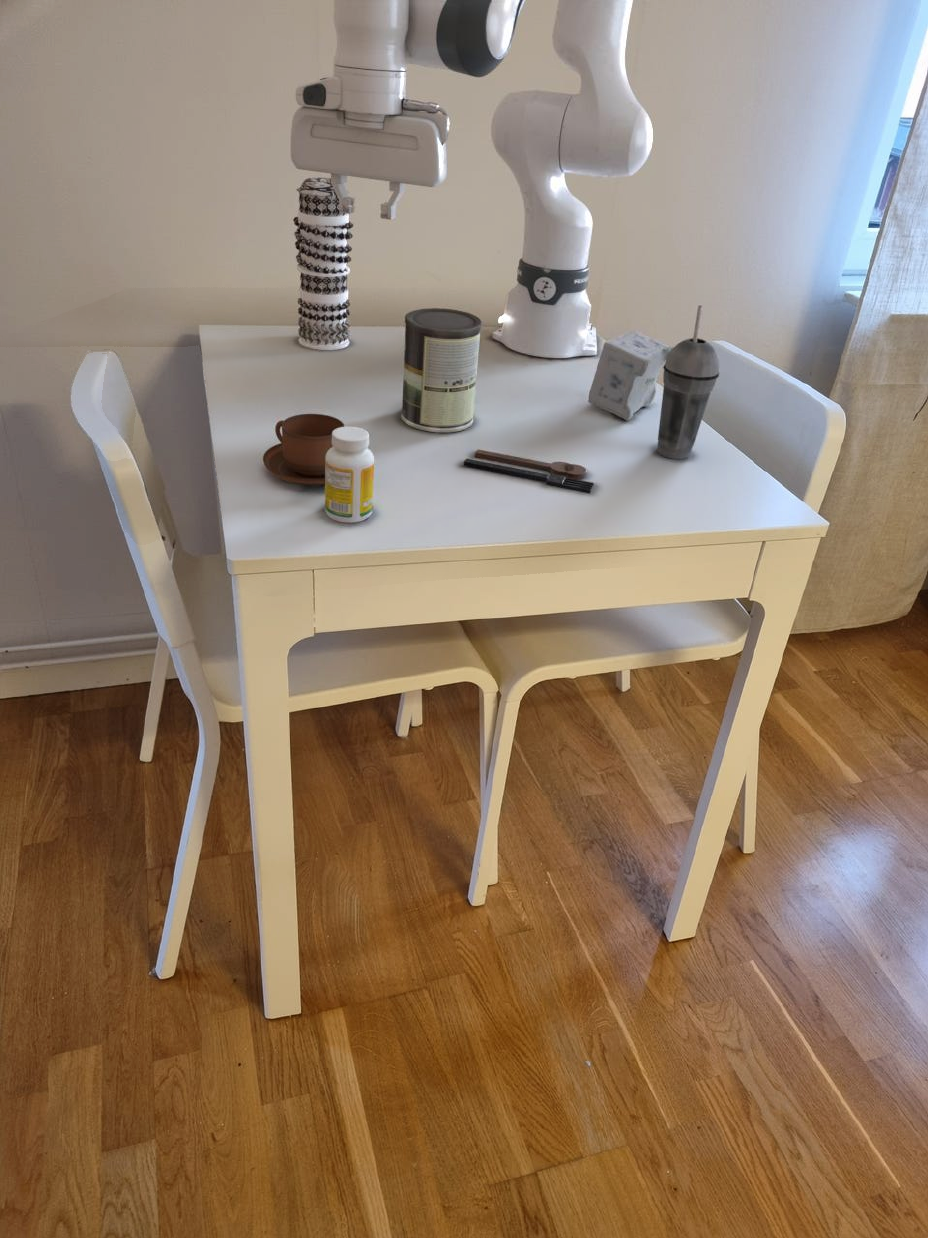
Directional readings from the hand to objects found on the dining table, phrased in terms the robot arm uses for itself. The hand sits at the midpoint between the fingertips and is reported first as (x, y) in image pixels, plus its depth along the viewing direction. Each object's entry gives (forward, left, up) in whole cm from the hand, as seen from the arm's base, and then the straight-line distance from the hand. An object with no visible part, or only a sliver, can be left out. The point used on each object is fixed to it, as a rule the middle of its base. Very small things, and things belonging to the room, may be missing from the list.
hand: (367, 215), depth 122 cm
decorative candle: (-22, -16, -25) cm, 37 cm away
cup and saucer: (+26, +4, -25) cm, 37 cm away
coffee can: (+2, +12, -25) cm, 28 cm away
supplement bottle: (+34, +12, -25) cm, 44 cm away
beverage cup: (-2, +45, -25) cm, 52 cm away
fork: (+15, +28, -25) cm, 41 cm away
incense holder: (-16, +36, -25) cm, 47 cm away
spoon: (+12, +28, -25) cm, 39 cm away
